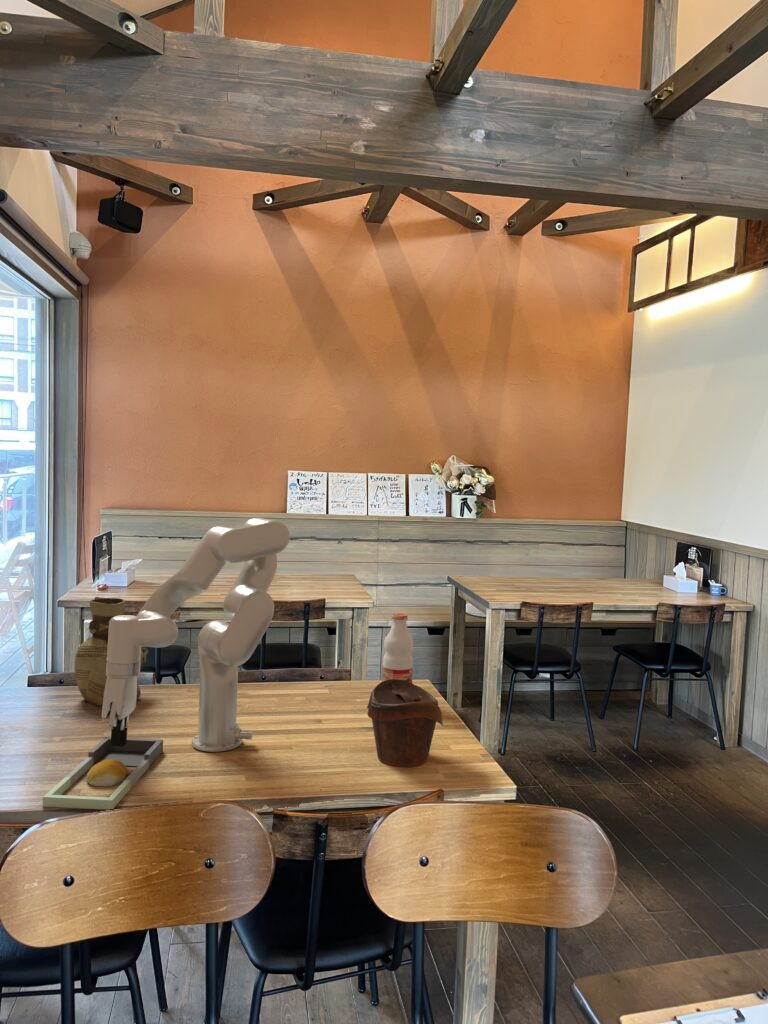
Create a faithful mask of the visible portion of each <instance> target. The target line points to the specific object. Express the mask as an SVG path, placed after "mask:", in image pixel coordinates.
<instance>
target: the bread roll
mask: <svg viewBox="0 0 768 1024" xmlns="http://www.w3.org/2000/svg"><path fill="white" fill-rule="evenodd" d="M127 769H128V768H127V766H125V765H124V764H123V763H122V762H121V761H118V760H114V759H109V760H104V761H101V762H99V763H97V764H96V765H93V766H92V767H90V768H89V770H88V771H87V774H86V780H87V783H88V784H90V785H91V786H94V787H112V786H115V785H117V784H121V783H123V781H124V780H125V779H126V776H127V775H126V774H127V772H128V770H127Z"/></svg>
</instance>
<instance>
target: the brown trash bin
mask: <svg viewBox="0 0 768 1024" xmlns="http://www.w3.org/2000/svg"><path fill="white" fill-rule="evenodd" d="M366 709H368V711H367V717H369V718H370V719H371V722H372V729H373V735H374V741H375V748H376V755H377V758H378V761H380V762H382V763H384V764H387V765H390V766H393V767H400V768H411V767H413V768H414V767H417V766H418V767H419V766H421V765H423V764H425V763H426V762H427V760H428V759H429V754H430V751H431V746H432V741H433V737H434V734H435V728H436V724H437V723H438V724H440V725H441V726H442V727H444V724H443V712H442V709H441V707H440V706H439V701H438V700H437V699H436V698H435V697H434V696H433V695H432V694H431V693H429V691H427V690H425V689H423V688H422V687H420V686H418V685H416V684H414V683H413V682H412V683H410V682H407V681H403V680H398V679H390V680H386V681H383V682H382V681H381V682H379V683H378V684H377V685H376V686H375V687H374V688H373V689H372V691H371V692H370V697H369V701H368V703H367V705H366Z"/></svg>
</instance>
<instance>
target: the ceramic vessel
mask: <svg viewBox="0 0 768 1024" xmlns="http://www.w3.org/2000/svg"><path fill="white" fill-rule="evenodd" d="M89 609H90V613H91V615H92V620H91V621H89V622H90V623H89V625H88V630H89V633H90V634H91V636H90V637H88V638H87V639H86V640H85V641H82V643H81V644H80V645H79V647H77V650H76V653H75V656H74V657H75V658H74V677H75V681H76V685H77V687H78V691H79V693H80V694H81V696H82V697H83V699H84V700H85V701H86V702H87V703H89V704H91V705H93V706H97V707H101V708H102V707H103V698H104V690H105V685H106V680H107V677H108V676H106V666H107V649H108V632H109V622H110V620H111V618H113V617H115V616H119V615H125V610H126V599H124V598H119V597H105V598H104V597H102V598H95V599H91V600H89ZM148 653H149V650H148V648H147V647H144V646H141V657H140V670H141V668H142V663H144V664H146V663H147V655H148ZM140 697H141V688H140V686H139V682H138V681H137V699H136V701H137V700H138V699H139V698H140Z"/></svg>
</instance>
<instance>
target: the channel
mask: <svg viewBox="0 0 768 1024" xmlns="http://www.w3.org/2000/svg"><path fill="white" fill-rule="evenodd" d="M163 750H164V740H163V739H158V738H157V739H156V738H155V739H154V738H134V737H133V738H132V737H127V743H126V744H125V745H124V746H123V747H122V746H111V736H109V737H108V736H105V737H103V739H101V740H100V742H98V743H97V744H96V745H94V746H93V748H91V749H89V751H88V755H87V757H86V758H85V759H83V761H82V762H80V763H79V764H78V765H76V767H75V768H73V769H72V770H71V771H70V772H69V773H68V774H67V775H66V776H65V777H64V778H62V779H61V780H60V781H59V782H58V783H57V784H56V785H55V786H54V787H52V788H51V789H49V791H48V792H47V793H45V794H44V795H43V796H42V807H43V808H44V807H46V808H63V809H65V808H66V809H67V808H68V809H87V810H88V809H89V810H107V811H111V810H110V809H113V810H114V809H115V808H116V807H117V805H118V804H119V803H120V802H121V800H122V799H123V798H124V797H125V796H126V795H127V794H128V792H129V791H130V790H131V789H133V787H134V785H135V784H136V783H137V782H138V781H139V780H140V778H141V777H142V776H143V775H144V774H145V773H146V772H147V770H148V769H149V768H150V767H151V766H152V765H153V764H154V763H155V761H156V760H157V759H158V758H159V757H160V756H161V754H162V753H164V752H163ZM109 759H114V760H118V761H121V762H122V763H123V764H124V765H125V766H126V767H128V768H129V767H130V768H133V767H134V769H133V770H132V771H131V773H129V775H128V776H127V777H125V778H124V779H123V781H122V782H121V783H120V785H119V786H118V787H117V788H116V789H115V790H114V791H113V792H112V794H111V795H110V796H108V797H107V796H86V795H65V794H64V793H65V792H66V791H67V790H68V789H70V787H72V785H73V784H74V783H76V782H77V781H78V780H79V779H80V778H81V777H82V776H84V774H85V773H86V772H88V771H89V770H90V769H91V768H92V767H93V766H94V765H96V764H97V763H99V762H101V761H104V760H109ZM63 794H64V795H63Z"/></svg>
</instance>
